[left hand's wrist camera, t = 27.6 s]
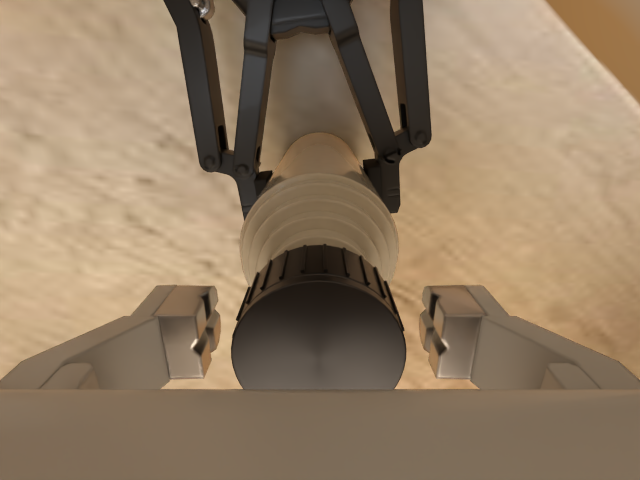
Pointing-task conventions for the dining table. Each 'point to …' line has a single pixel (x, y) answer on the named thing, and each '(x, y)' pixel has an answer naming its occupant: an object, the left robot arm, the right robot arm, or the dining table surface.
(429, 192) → the dining table surface
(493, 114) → the dining table surface
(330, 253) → the cap
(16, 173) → the dining table surface
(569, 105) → the dining table surface
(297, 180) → the bottle
